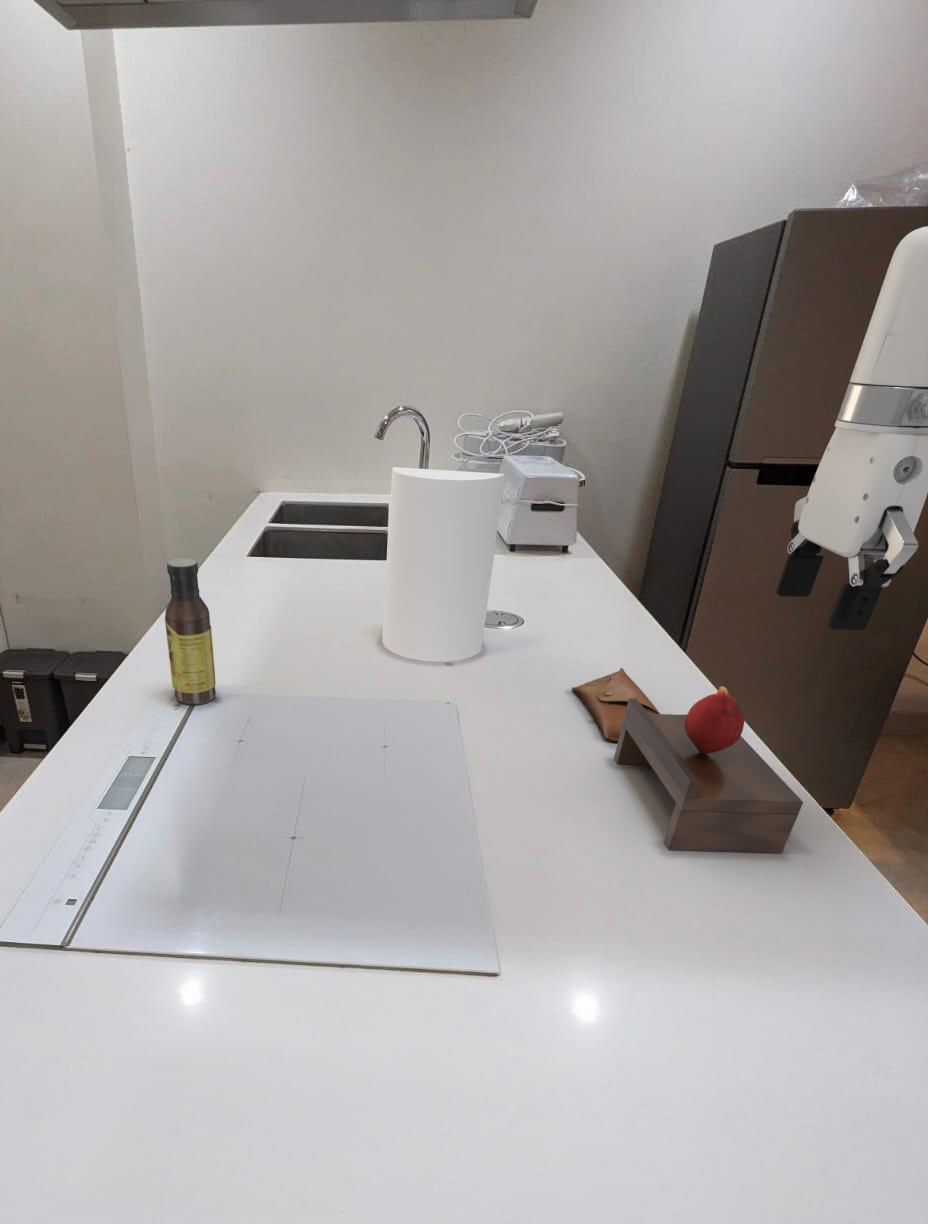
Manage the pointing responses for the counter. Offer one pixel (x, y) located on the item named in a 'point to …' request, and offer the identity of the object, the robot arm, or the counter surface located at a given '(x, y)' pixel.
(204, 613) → the sauce bottle
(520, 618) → the counter surface
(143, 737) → the counter surface
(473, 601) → the cylinder
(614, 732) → the sunglasses case
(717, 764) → the shelf
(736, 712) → the onion
